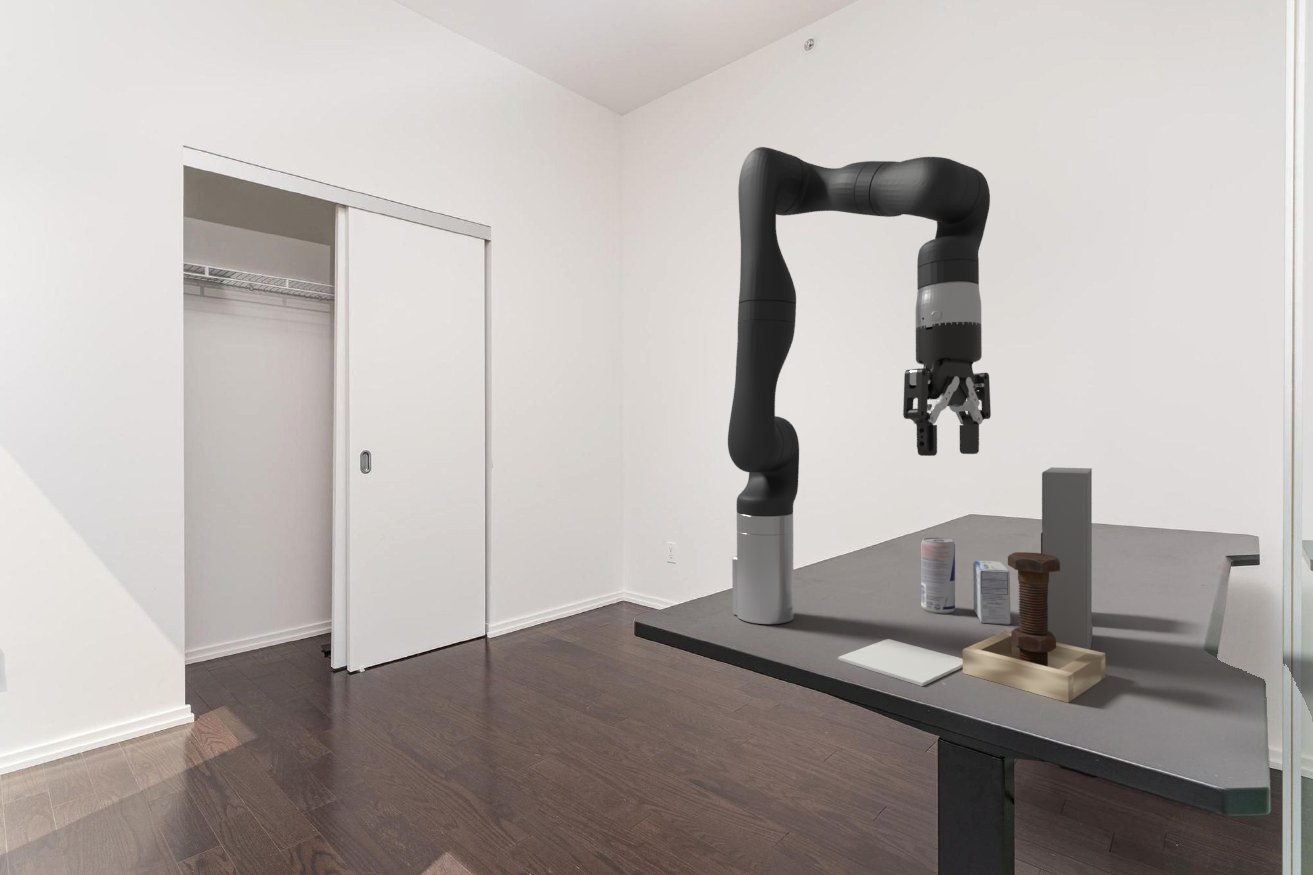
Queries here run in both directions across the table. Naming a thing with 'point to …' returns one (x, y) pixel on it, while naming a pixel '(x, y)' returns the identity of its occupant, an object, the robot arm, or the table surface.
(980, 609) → the medicine box
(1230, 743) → the table surface
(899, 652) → the pad
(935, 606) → the energy drink
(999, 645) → the wooden frame
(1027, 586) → the bolt
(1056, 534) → the cassette tape recorder
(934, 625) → the table surface
